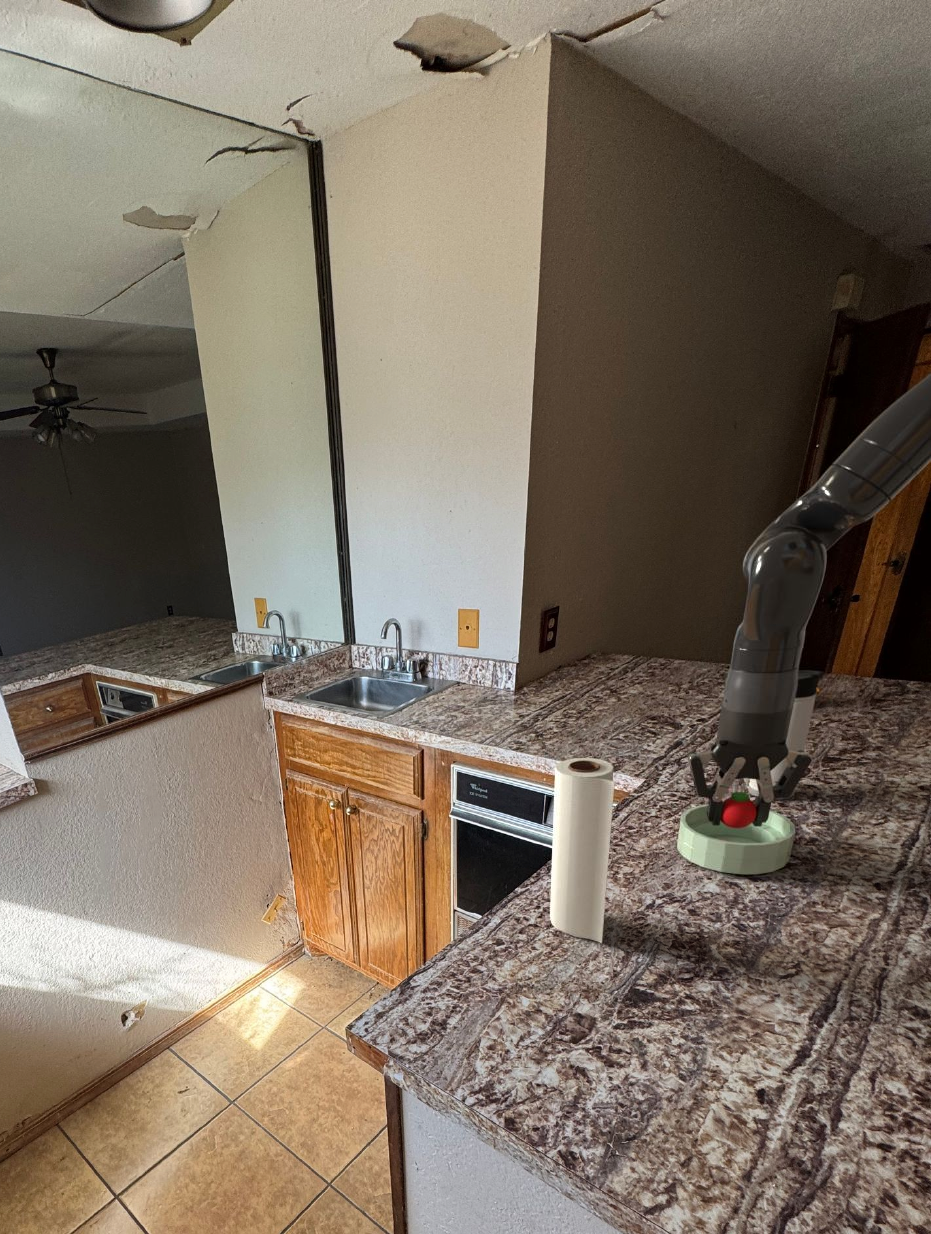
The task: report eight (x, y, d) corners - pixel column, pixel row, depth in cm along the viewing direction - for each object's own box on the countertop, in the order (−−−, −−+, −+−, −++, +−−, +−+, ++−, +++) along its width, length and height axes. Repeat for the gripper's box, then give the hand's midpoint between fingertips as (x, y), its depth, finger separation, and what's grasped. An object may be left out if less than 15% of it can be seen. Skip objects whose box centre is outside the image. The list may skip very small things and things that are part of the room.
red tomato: (758, 824, 89) (764, 792, 87) (747, 836, 86) (753, 804, 84) (722, 817, 92) (728, 786, 90) (710, 828, 90) (715, 797, 87)
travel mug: (786, 804, 102) (813, 678, 93) (740, 794, 107) (762, 673, 98) (803, 791, 105) (831, 668, 96) (758, 782, 110) (780, 664, 101)
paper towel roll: (551, 907, 86) (556, 755, 76) (601, 911, 83) (613, 755, 74) (548, 939, 80) (553, 779, 70) (601, 944, 77) (615, 779, 68)
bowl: (801, 848, 90) (808, 816, 88) (768, 888, 83) (775, 854, 81) (698, 825, 100) (702, 796, 97) (660, 860, 92) (664, 829, 90)
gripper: (698, 713, 81) (681, 834, 88) (837, 708, 76) (806, 837, 83) (687, 696, 87) (672, 811, 95) (815, 691, 82) (788, 813, 90)
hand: (735, 823), depth 89 cm, fingers closed on red tomato, 4 cm apart
